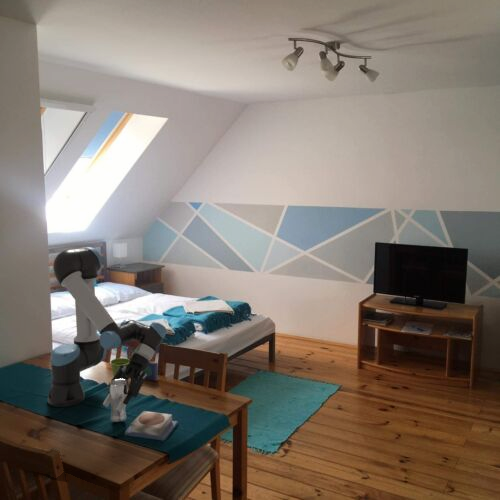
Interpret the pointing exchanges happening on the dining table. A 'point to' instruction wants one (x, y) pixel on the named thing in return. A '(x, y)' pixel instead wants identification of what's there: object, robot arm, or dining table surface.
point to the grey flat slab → (150, 436)
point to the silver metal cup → (117, 398)
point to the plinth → (151, 423)
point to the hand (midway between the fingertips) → (111, 408)
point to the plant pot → (118, 364)
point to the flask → (152, 371)
